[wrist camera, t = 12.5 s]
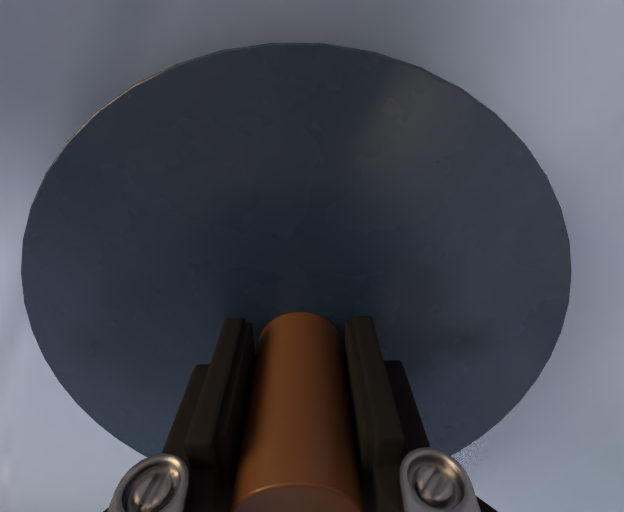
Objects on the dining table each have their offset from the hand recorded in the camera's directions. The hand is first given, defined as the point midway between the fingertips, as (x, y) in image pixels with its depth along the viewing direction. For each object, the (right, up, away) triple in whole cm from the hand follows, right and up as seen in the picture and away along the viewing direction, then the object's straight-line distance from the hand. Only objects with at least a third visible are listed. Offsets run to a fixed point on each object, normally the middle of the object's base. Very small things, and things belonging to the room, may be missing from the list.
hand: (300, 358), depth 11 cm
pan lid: (0, +1, +1) cm, 1 cm away
